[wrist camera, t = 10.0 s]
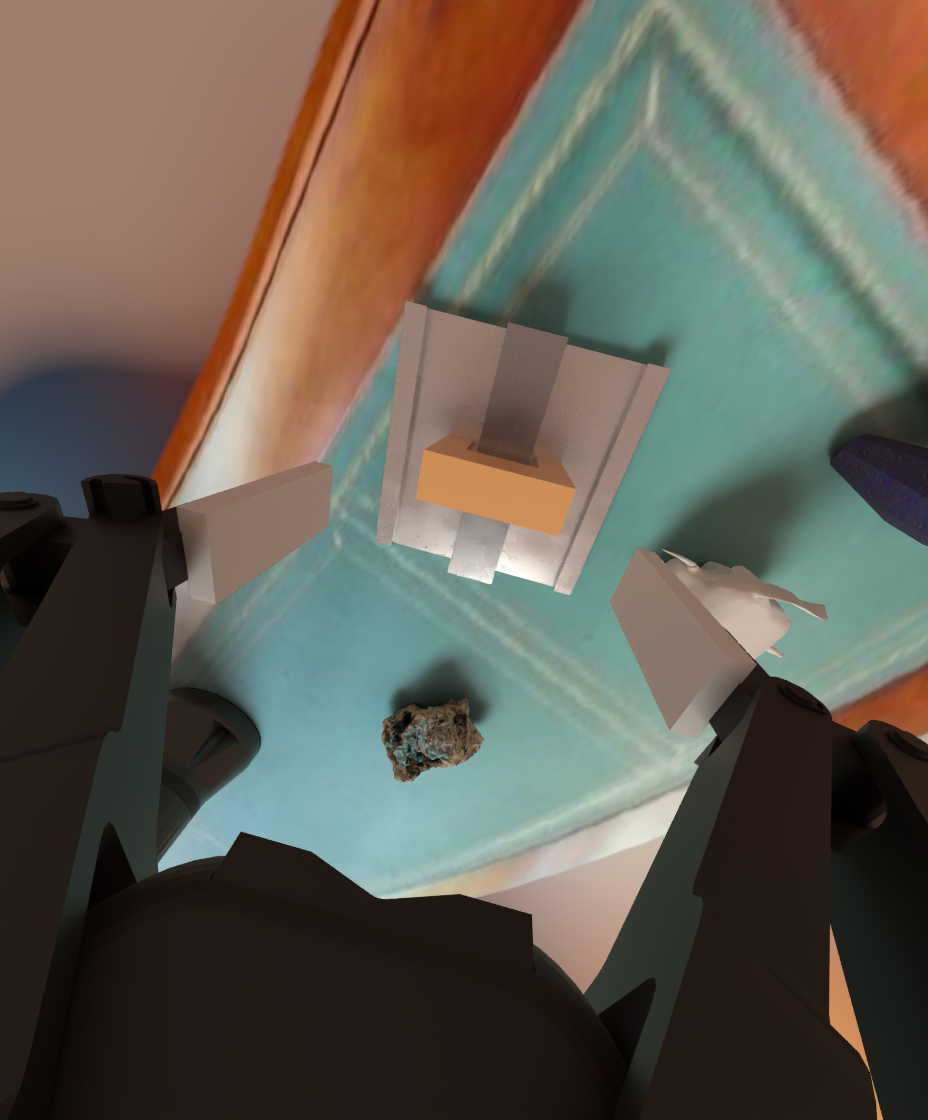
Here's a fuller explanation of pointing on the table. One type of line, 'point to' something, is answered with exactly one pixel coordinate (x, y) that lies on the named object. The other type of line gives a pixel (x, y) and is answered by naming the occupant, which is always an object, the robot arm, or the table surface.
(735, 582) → the elephant figurine
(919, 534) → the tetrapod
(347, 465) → the table surface
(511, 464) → the clip
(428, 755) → the mineral specimen
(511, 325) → the rail
